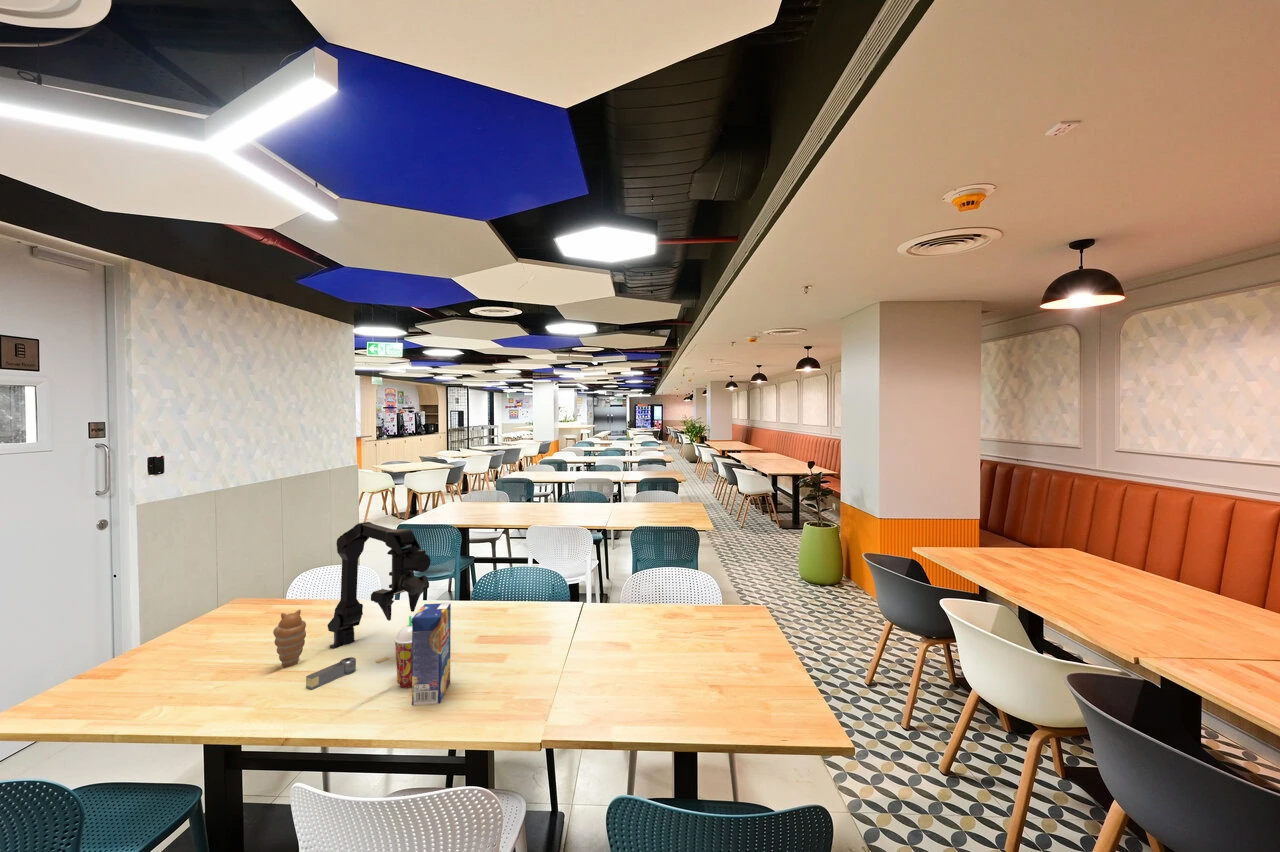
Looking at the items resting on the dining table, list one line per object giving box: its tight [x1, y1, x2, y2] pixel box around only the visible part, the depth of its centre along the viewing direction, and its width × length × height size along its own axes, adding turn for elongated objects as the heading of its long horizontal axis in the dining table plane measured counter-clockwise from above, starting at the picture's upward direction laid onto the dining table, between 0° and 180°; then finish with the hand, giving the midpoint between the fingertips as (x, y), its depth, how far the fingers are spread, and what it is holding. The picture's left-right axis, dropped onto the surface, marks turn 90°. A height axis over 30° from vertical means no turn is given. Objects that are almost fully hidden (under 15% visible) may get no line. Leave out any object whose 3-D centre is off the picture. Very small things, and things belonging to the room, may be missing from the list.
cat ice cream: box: [272, 609, 307, 669], centre depth 167 cm, size 9×8×18 cm
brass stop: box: [374, 656, 391, 664], centre depth 169 cm, size 2×4×1 cm, turn 155°
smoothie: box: [394, 615, 412, 689], centre depth 156 cm, size 8×8×20 cm
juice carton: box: [411, 602, 452, 706], centre depth 150 cm, size 12×8×24 cm, turn 7°
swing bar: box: [305, 656, 357, 691], centre depth 156 cm, size 14×4×3 cm, turn 155°
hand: (401, 615), depth 172 cm, fingers open, 9 cm apart
